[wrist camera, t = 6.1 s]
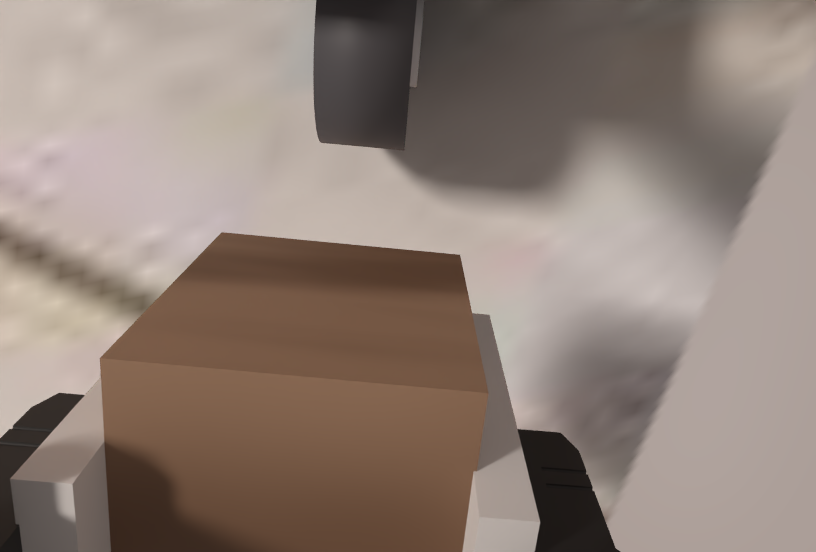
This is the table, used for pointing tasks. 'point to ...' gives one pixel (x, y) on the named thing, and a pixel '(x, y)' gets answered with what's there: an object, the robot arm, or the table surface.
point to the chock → (296, 403)
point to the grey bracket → (365, 70)
